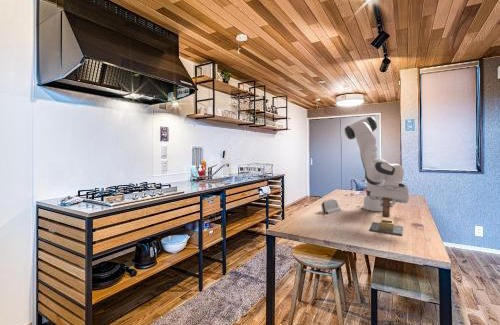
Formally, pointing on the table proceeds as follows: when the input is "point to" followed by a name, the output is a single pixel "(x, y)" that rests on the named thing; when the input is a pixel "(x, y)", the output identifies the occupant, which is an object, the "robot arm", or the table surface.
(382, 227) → the peg socket base
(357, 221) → the table surface
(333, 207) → the hinge
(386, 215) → the rail post
